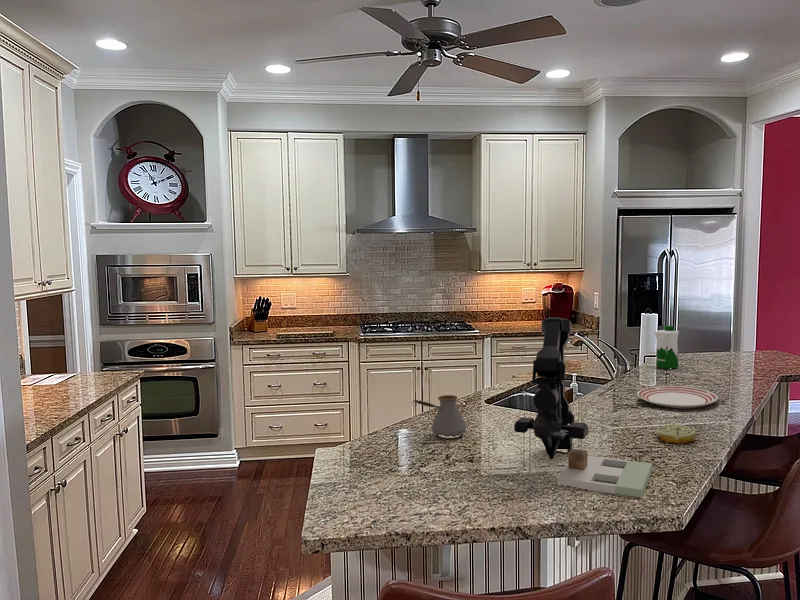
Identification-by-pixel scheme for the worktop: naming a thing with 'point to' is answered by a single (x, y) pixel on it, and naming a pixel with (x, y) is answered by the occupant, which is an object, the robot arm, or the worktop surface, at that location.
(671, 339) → the milk carton
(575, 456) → the walnut block
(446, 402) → the coffee pot
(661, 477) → the worktop surface
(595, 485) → the trap deck
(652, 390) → the dinner plate
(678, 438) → the decorated donut
